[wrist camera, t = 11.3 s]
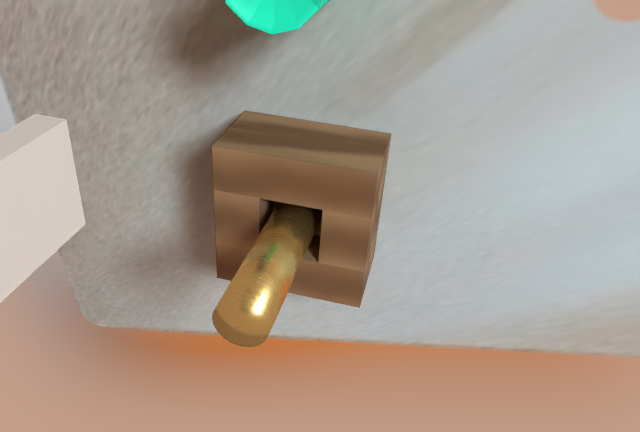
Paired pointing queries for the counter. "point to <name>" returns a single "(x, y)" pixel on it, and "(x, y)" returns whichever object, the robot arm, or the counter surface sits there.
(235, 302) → the brass pin
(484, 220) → the counter surface
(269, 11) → the candle
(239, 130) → the bore block
